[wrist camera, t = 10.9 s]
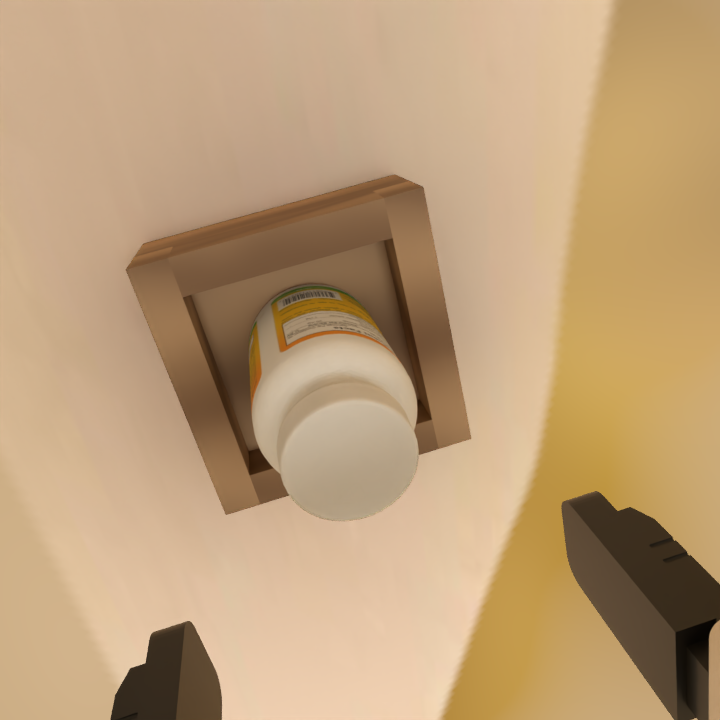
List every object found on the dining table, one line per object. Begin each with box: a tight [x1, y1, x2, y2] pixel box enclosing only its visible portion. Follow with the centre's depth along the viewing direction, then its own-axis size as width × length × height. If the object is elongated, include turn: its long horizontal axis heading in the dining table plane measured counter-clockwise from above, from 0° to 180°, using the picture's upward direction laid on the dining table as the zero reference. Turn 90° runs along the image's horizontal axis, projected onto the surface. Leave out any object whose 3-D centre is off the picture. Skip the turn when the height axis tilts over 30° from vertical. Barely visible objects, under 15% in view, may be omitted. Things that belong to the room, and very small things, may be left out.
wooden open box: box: [126, 175, 471, 515], centre depth 26 cm, size 11×11×4 cm
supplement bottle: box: [248, 284, 419, 521], centre depth 22 cm, size 5×5×10 cm
